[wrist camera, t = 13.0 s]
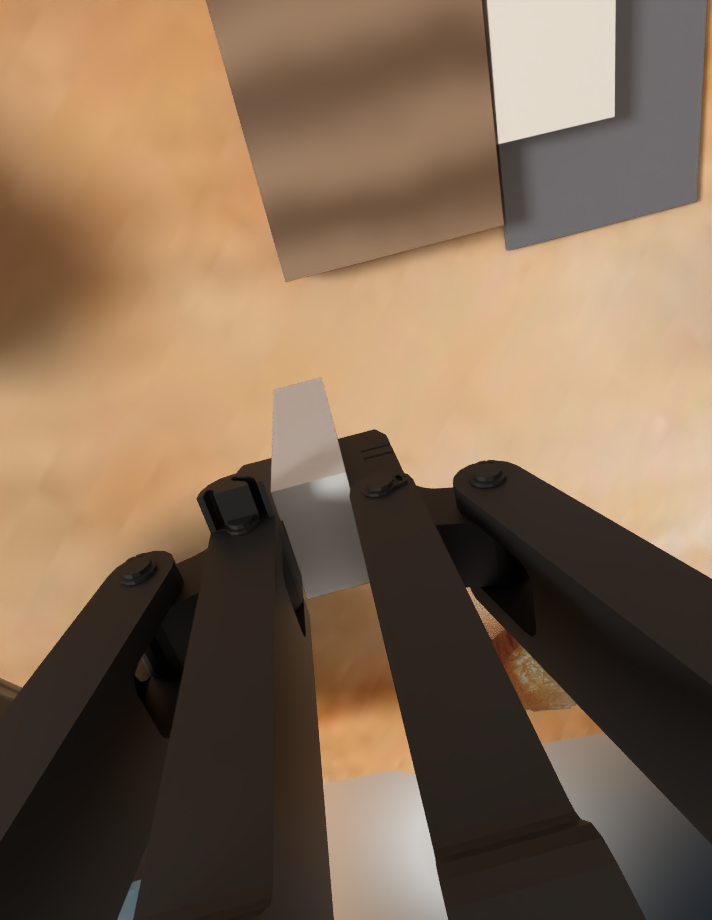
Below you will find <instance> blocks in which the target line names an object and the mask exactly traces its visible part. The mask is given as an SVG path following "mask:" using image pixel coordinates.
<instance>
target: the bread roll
mask: <svg viewBox="0 0 712 920" xmlns="http://www.w3.org/2000/svg"><path fill="white" fill-rule="evenodd" d="M492 643H493V645H494V647H495V649H496V651H497V653H498V655H499V657H500V660H501V662H502V664H503V666H504V668H505V670H506V672H507V674H508V676H509V678H510V680H511V682H512V684H513V686H514V688H515V690H516V692H517V695H518V697H519V699H520V701H521V703H522V705H523V707H524V709H525V710H529V709H530V710H532V711H536V712H537V711H541V710H557V709H569V708H571V707H572V706H574V705H576V704H577V703H576V702H575V701H574V700H573V699H572V698H571V697H570V696H569V695H568V694H567V693H566V692H565V691H564V690H563V689H562V688H561V687H560V686H559V685H558V684H557V683H556V681H555V680H554V679H553V678H552V677H551V676H550V675H549V674H548V673H547V672H546V671H545V670H544V669H543V668H542V667H541V666H540V665H539V664H538V663H537V662H536V661H535V660H534V659H533V657H532V656H531V655H530V654H529V653H528V652H527V651H526V650H525V649H524V648H523V647H522V646H521V645H520V644H519V643H518V642H517V641H516V640H515V639H514V638H513V637H512V636H511V635H510V633H509V632H508V631H507V630H506V629H505V630H503V631H502V632H501V633H500V634H499V635H498V636H497V637H496V638H495V639H494V640H493V641H492Z"/></svg>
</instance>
